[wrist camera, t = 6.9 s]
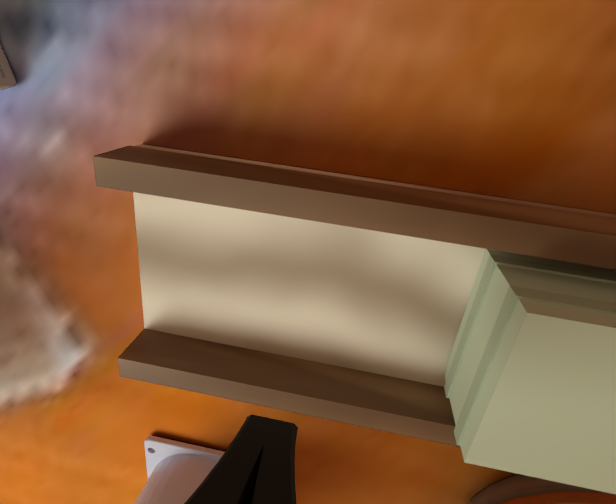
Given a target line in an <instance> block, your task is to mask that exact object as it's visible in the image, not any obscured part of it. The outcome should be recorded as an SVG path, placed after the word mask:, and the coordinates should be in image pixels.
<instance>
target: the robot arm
mask: <svg viewBox="0 0 616 504" xmlns="http://www.w3.org/2000/svg"><path fill="white" fill-rule="evenodd" d="M297 429H298V427H297V426H296V425H295V424H294V423H289V422H284V421H280V420H275V419H270V418H265V417H261V416H256V415H250V416H248V417H247V419H246V421H245V422H244V424H243V426H242V427H241V429H240V431H239V432H238V434H237V435H236V437H235V438H234V440H233V441H232V443H231V444H230V446H229V447H228V449H227V450H226V451H225V452H224V451H219V450H215V449H210V448H206V447H201V446H197V445H192V444H188V443H183V442H179V441H174V440H170V439H165V438H161V437H156V436H148V437H147V439H146V440H145V442H144V445H145V456H146V466H147V476H148V481H147V482H146V484H145V486H144V488H143V489H142V491H141V493H140V495H139V497H138V498H137V500H136V502H135V504H296V494H295V474H294V457H295V443H296V436H297Z"/></svg>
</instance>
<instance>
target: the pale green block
mask: <svg viewBox="0 0 616 504" xmlns="http://www.w3.org/2000/svg"><path fill="white" fill-rule="evenodd" d="M444 377H445V381H446V382H445V385H444V390H445V394H446V398H449V399H450V403H451V407H452V412H453V416H454V420H455V425H456V426H455V429H454V435H455V439H456V444H457V445H459V446H461V451H462V455H463V459H464V462H465V463H469V464H474V465H479V466H484V467H488V468H493V469H498V470H502V471H507V472H512V473H517V474H521V475H526V476H531V477H536V478H540V479H545V480H550V481H555V482H559V483H564V484H569V485H573V486H578V487H583V488H588V489H592V490H597V491H602V492H607V493H611V494H616V269H609V268H603V267H597V266H591V265H585V264H578V263H572V262H566V261H560V260H553V259H547V258H541V257H535V256H528V255H522V254H516V253H510V252H504V251H497V250H491V249H486V251H485V254H484V256H483V259H482V262H481V265H480V268H479V271H478V274H477V277H476V280H475V283H474V286H473V289H472V292H471V295H470V298H469V301H468V304H467V307H466V310H465V313H464V316H463V318H462V321H461V324H460V327H459V330H458V333H457V336H456V339H455V342H454V345H453V348H452V351H451V354H450V357H449V360H448V363H447V366H446V369H445V372H444Z"/></svg>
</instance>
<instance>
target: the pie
mask: <svg viewBox="0 0 616 504" xmlns="http://www.w3.org/2000/svg"><path fill="white" fill-rule="evenodd" d="M468 504H616V494H611V493H607V492H602V491H597V490H592V489H588V488H583V487H578V486H573V485H569V484H564V483H559V482H555V481H550V480H545V479H540V478H536V477H531V476H526V475H521V474H516V475H513V476H511V477H508V478H505V479H503V480H500V481H497V482H495V483H492V484H491V485H489V486H488V487H486V488H485V489H483V490H482V491H481V492H479V493H478V494H476V495H475V496H474V497H473V498H472V499H471V500H470V502H469V503H468Z"/></svg>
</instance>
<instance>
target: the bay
mask: <svg viewBox="0 0 616 504" xmlns="http://www.w3.org/2000/svg"><path fill="white" fill-rule="evenodd" d="M93 161H94V169H95V178H96V186H99V187H105V188H111V189H117V190H124V191H130V192H133V196H134V208H135V220H136V232H137V244H138V256H139V268H140V280H141V292H142V304H143V316H144V328H145V329H144V330H143V331H142V332H141V333H140V334H139V335H138V336H137V337H136V339H135V340H134V341H133V342H132V343H131V344H130V345H129V346H128V347H127V348H126V350H125V351H124V352H123V353H122V354H121V355H120V356H119V357H118V363H119V371H120V376H121V377H126V378H130V379H135V380H140V381H145V382H150V383H154V384H159V385H164V386H169V387H174V388H178V389H183V390H188V391H193V392H198V393H203V394H207V395H212V396H217V397H222V398H227V399H231V400H236V401H241V402H246V403H251V404H255V405H260V406H265V407H270V408H275V409H280V410H284V411H289V412H294V413H299V414H304V415H308V416H313V417H318V418H323V419H328V420H332V421H337V422H342V423H347V424H352V425H357V426H361V427H366V428H371V429H376V430H381V431H385V432H390V433H395V434H400V435H405V436H410V437H414V438H419V439H424V440H429V441H434V442H438V443H443V444H448V445H453V446H458V447H461V446H459V445H457V444H456V439H455V435H454V429H455V426H456V425H455V420H454V416H453V412H452V407H451V403H450V399H449V398H446V394H445V390H444V385H445V382H446V381H445V377H444V372H445V369H446V366H447V363H448V360H449V357H450V354H451V351H452V348H453V345H454V342H455V339H456V336H457V333H458V330H459V327H460V324H461V321H462V318H463V316H464V313H465V310H466V307H467V304H468V301H469V298H470V295H471V292H472V289H473V286H474V283H475V280H476V277H477V274H478V271H479V268H480V265H481V262H482V259H483V256H484V254H485V251H486V249H491V250H497V251H504V252H510V253H516V254H522V255H528V256H535V257H541V258H547V259H553V260H560V261H566V262H572V263H578V264H585V265H591V266H597V267H603V268H609V269H616V214H609V213H603V212H596V211H589V210H582V209H576V208H569V207H562V206H555V205H549V204H542V203H535V202H528V201H522V200H515V199H508V198H501V197H495V196H488V195H481V194H474V193H468V192H461V191H454V190H447V189H441V188H434V187H427V186H420V185H414V184H407V183H400V182H393V181H386V180H380V179H373V178H366V177H359V176H353V175H346V174H339V173H332V172H326V171H319V170H312V169H305V168H299V167H292V166H285V165H278V164H272V163H265V162H258V161H251V160H245V159H238V158H231V157H224V156H218V155H211V154H204V153H197V152H191V151H184V150H177V149H170V148H164V147H157V146H150V145H143V144H141V145H137V146H126V147H123V148H119V149H116V150H112V151H109V152H105V153H102V154H98V155H95V156H93Z"/></svg>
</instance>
